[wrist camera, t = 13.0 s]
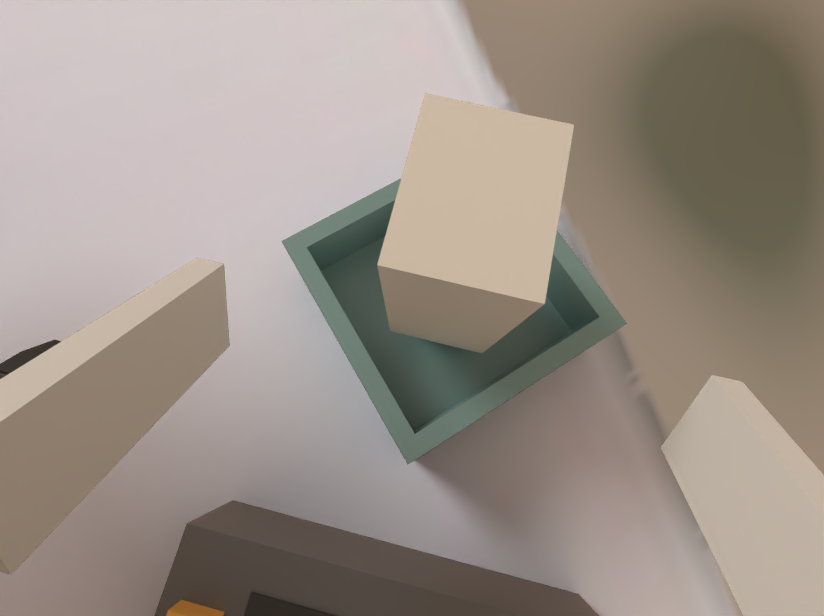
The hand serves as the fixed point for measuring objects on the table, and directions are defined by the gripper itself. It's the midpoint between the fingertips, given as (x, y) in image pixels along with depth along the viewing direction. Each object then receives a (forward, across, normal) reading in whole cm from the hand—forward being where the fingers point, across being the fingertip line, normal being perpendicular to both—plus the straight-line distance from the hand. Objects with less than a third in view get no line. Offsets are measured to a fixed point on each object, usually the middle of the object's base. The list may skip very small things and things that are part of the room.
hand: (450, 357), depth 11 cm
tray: (+9, 0, -4) cm, 10 cm away
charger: (+8, 0, -3) cm, 9 cm away
